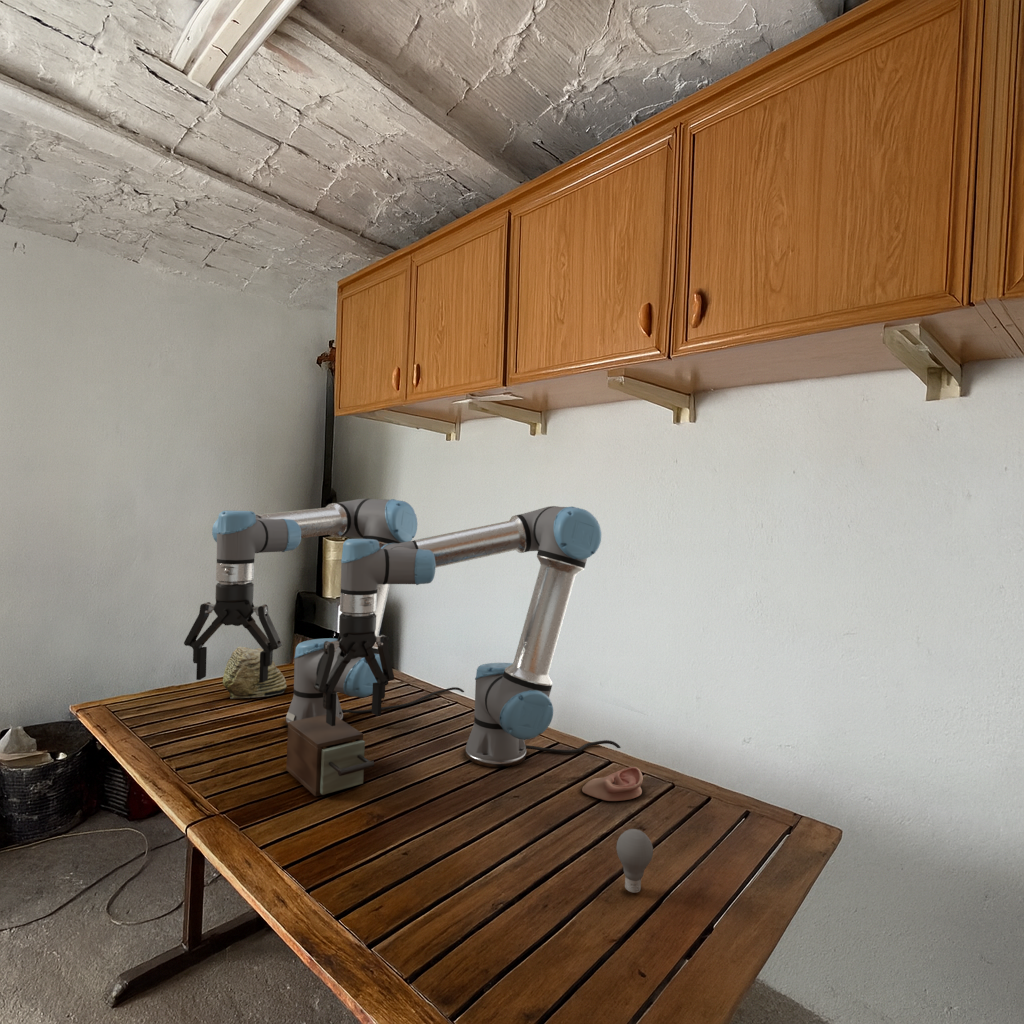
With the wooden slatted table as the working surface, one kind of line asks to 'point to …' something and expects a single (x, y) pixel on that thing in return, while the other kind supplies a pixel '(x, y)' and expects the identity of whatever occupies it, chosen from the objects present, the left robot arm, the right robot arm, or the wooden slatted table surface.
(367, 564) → the right robot arm
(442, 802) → the wooden slatted table surface
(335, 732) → the cabinet
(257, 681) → the fossil
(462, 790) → the wooden slatted table surface
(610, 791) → the anatomical model
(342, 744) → the drawer
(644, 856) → the light bulb
